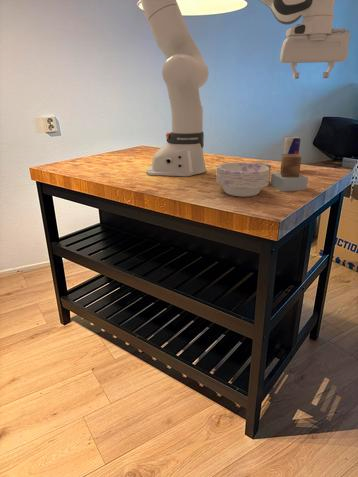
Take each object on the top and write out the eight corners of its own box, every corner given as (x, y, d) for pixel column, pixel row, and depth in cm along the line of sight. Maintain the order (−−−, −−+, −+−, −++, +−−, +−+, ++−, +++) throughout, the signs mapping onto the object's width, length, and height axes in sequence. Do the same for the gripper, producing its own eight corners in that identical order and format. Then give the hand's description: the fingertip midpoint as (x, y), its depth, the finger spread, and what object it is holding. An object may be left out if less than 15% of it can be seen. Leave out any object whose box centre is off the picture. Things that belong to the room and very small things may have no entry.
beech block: (254, 184, 114) (256, 166, 112) (248, 180, 119) (249, 163, 116) (269, 183, 115) (270, 165, 113) (262, 179, 120) (264, 162, 117)
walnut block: (281, 176, 108) (283, 157, 105) (280, 172, 112) (282, 153, 110) (298, 177, 107) (301, 157, 105) (296, 173, 112) (299, 154, 109)
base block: (281, 192, 107) (283, 179, 105) (270, 185, 114) (271, 173, 112) (306, 190, 108) (307, 177, 106) (293, 183, 115) (294, 171, 114)
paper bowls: (266, 186, 112) (268, 161, 108) (269, 201, 98) (271, 172, 95) (217, 185, 114) (218, 160, 111) (214, 199, 100) (214, 171, 97)
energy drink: (297, 172, 129) (301, 138, 124) (282, 171, 130) (285, 138, 125) (296, 169, 134) (299, 136, 129) (281, 168, 135) (284, 136, 130)
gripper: (347, 29, 111) (339, 78, 116) (281, 31, 112) (277, 79, 117) (355, 26, 105) (347, 77, 111) (285, 28, 106) (281, 78, 111)
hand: (310, 78), depth 114 cm, fingers open, 8 cm apart
